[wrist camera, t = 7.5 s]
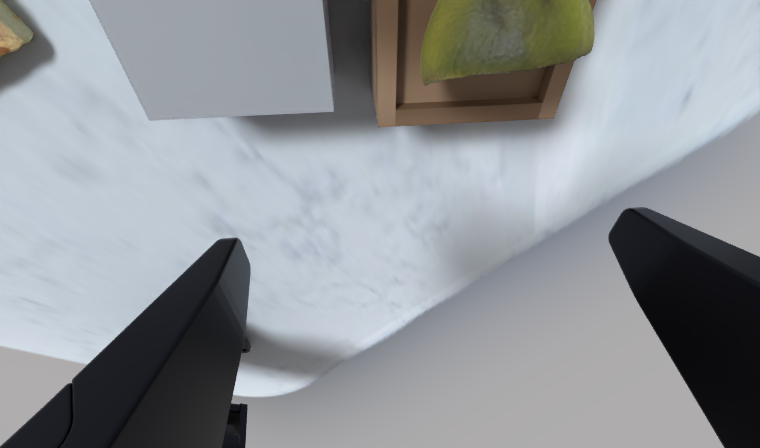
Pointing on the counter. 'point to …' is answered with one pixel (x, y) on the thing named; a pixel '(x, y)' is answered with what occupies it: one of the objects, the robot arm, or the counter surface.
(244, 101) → the grey stone block
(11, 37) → the shard
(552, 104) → the brown hollow rimmed box
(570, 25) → the lime
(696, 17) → the counter surface
